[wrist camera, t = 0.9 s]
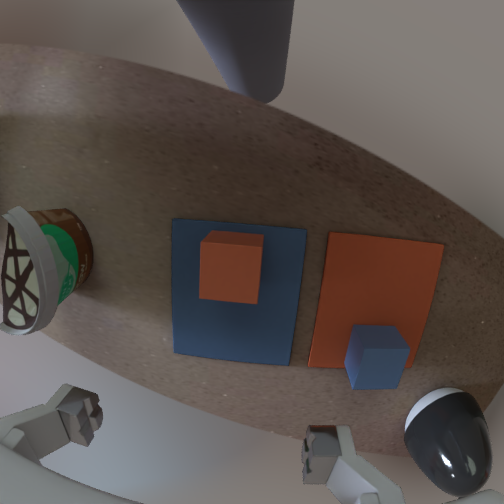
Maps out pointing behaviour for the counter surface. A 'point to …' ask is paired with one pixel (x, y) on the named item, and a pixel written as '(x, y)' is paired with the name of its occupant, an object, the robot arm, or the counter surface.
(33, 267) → the food container
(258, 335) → the blue mat
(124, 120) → the counter surface
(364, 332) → the slate block
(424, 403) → the pump dispenser
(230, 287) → the terracotta block
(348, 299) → the terracotta mat
